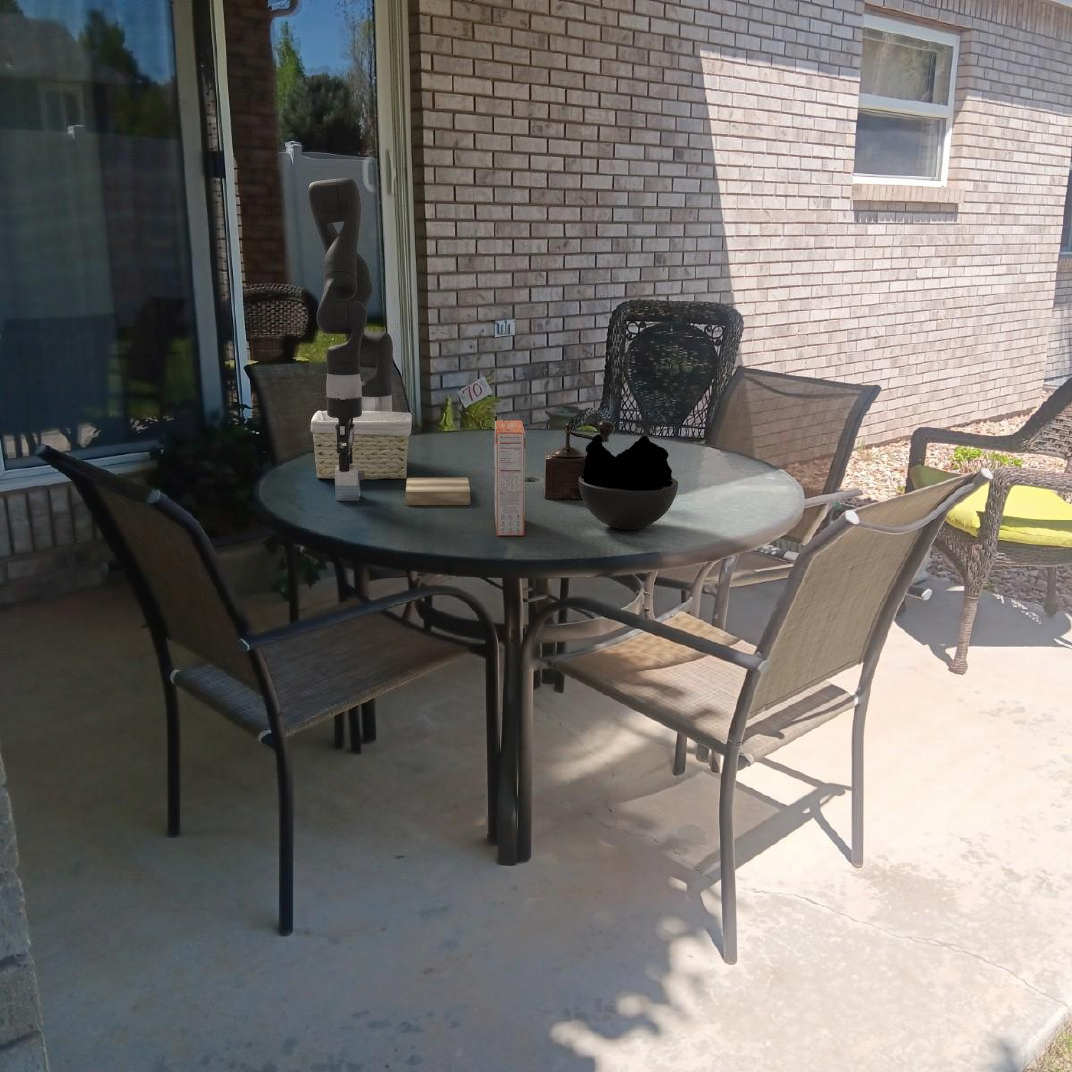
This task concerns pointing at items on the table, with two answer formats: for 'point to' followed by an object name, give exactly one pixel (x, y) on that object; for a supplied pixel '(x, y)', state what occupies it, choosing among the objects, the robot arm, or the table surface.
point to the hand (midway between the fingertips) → (346, 467)
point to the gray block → (348, 483)
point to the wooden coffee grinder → (568, 465)
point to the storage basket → (365, 444)
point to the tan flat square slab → (437, 491)
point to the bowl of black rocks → (627, 484)
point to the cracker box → (509, 477)
